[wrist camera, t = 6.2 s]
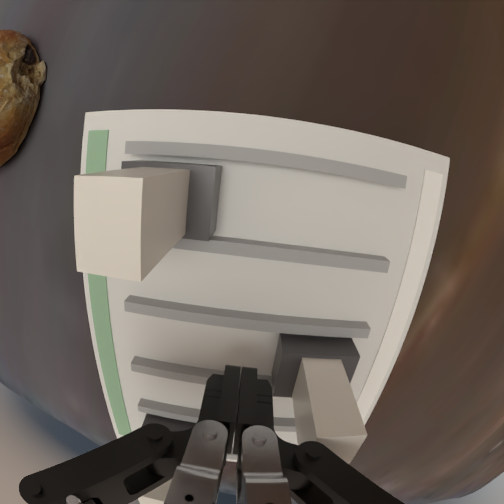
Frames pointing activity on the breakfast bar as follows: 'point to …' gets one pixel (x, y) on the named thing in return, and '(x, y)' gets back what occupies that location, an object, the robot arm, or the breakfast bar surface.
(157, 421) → the breaker
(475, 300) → the breakfast bar surface
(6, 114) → the bread roll
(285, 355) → the breaker
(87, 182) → the breaker
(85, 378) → the breakfast bar surface
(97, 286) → the panel
